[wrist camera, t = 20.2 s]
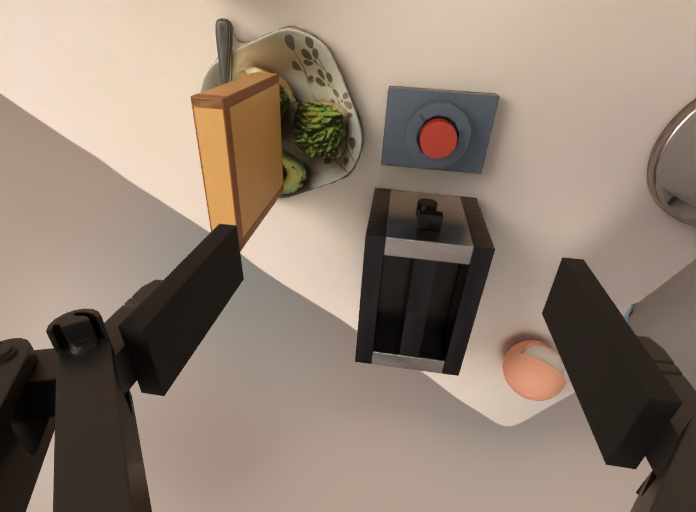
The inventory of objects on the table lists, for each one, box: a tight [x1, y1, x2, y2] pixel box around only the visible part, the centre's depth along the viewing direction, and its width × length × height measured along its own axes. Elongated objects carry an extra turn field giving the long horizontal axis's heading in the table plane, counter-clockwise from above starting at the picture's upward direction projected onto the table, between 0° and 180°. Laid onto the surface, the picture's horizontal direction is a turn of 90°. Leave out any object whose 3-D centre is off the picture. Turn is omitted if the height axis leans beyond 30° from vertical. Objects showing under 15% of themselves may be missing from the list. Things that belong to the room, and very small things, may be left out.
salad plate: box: [201, 18, 363, 198], centre depth 42 cm, size 19×18×5 cm
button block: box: [381, 86, 499, 174], centre depth 41 cm, size 11×8×4 cm
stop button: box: [420, 118, 457, 159], centre depth 39 cm, size 4×4×2 cm
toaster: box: [355, 188, 495, 376], centre depth 46 cm, size 12×19×12 cm, turn 177°
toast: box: [191, 72, 284, 251], centre depth 35 cm, size 2×12×14 cm, turn 177°
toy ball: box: [503, 340, 566, 401], centre depth 54 cm, size 8×8×8 cm
